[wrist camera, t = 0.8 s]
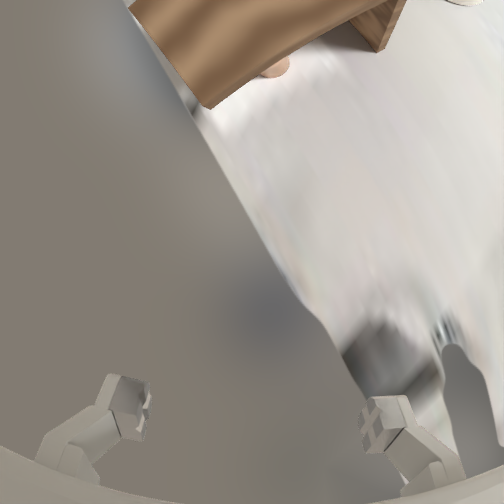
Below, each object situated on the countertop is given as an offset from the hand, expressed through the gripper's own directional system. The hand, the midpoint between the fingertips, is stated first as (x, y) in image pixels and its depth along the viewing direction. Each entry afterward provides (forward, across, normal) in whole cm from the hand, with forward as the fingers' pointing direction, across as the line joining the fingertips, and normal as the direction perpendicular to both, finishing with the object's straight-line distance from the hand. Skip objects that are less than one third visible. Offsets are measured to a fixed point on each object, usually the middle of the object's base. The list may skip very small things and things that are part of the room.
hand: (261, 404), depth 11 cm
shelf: (+41, -2, -19) cm, 45 cm away
